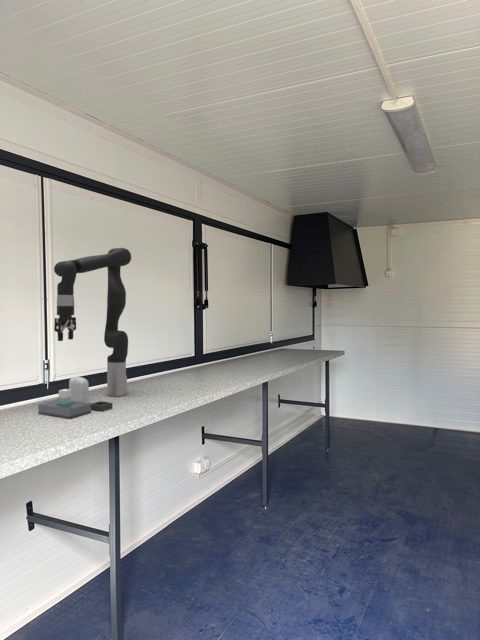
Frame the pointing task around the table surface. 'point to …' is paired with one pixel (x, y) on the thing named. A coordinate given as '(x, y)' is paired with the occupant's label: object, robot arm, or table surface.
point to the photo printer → (79, 389)
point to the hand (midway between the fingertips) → (65, 340)
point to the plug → (64, 397)
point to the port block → (64, 409)
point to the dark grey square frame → (101, 406)
